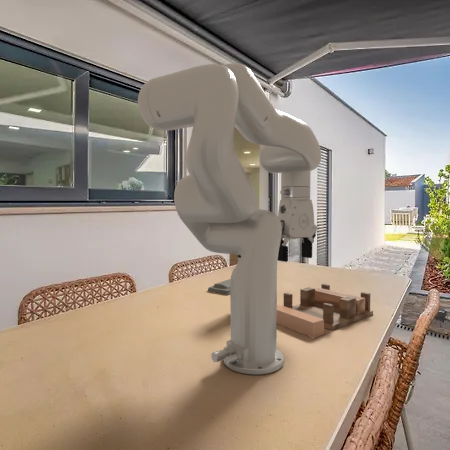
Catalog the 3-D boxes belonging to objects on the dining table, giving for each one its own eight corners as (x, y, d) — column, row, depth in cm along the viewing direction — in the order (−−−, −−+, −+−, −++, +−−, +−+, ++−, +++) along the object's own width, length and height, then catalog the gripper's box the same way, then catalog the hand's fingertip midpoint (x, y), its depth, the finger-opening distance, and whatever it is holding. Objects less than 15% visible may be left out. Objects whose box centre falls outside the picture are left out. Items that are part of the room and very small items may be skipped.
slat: (323, 335, 87) (324, 319, 86) (313, 338, 84) (313, 322, 84) (279, 318, 100) (279, 304, 99) (269, 321, 97) (269, 307, 97)
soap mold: (256, 286, 141) (256, 277, 140) (228, 296, 124) (228, 287, 124) (235, 282, 147) (235, 274, 146) (206, 292, 130) (206, 283, 130)
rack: (332, 330, 89) (333, 306, 89) (281, 313, 103) (281, 292, 103) (373, 314, 101) (373, 293, 101) (321, 301, 116) (321, 283, 115)
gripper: (283, 193, 82) (283, 264, 83) (327, 194, 92) (326, 257, 93) (261, 194, 88) (261, 260, 89) (305, 195, 98) (304, 254, 99)
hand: (295, 259), depth 91 cm, fingers open, 9 cm apart
